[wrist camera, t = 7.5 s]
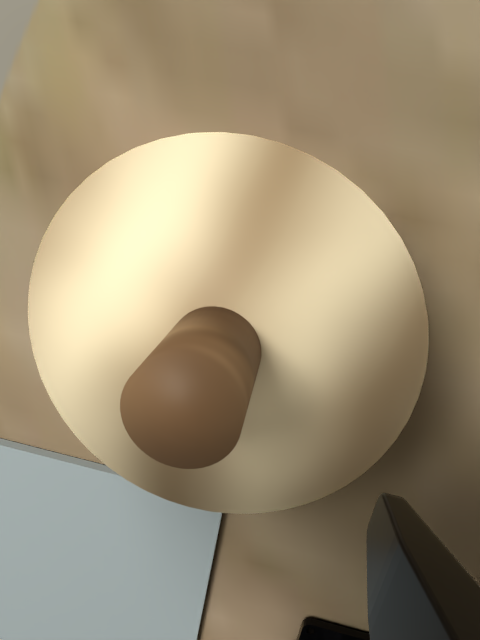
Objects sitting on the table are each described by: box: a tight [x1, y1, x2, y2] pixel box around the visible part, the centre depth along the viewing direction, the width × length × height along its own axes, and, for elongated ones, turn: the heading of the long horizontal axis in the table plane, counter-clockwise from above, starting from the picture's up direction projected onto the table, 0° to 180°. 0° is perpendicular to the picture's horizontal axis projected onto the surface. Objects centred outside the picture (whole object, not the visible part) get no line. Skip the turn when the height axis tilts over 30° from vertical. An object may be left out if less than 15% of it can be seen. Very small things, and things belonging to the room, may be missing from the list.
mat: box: [0, 438, 222, 640], centre depth 27 cm, size 16×16×1 cm
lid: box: [28, 132, 429, 514], centre depth 13 cm, size 13×13×5 cm
